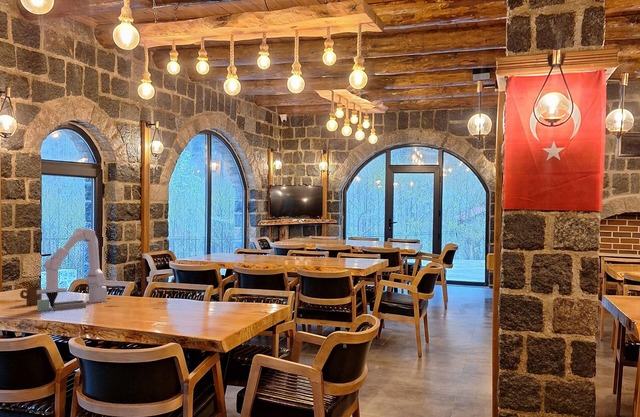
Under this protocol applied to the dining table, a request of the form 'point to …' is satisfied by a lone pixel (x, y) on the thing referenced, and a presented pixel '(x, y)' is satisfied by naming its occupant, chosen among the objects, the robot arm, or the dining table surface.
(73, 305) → the chute
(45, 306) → the block
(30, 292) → the mug
